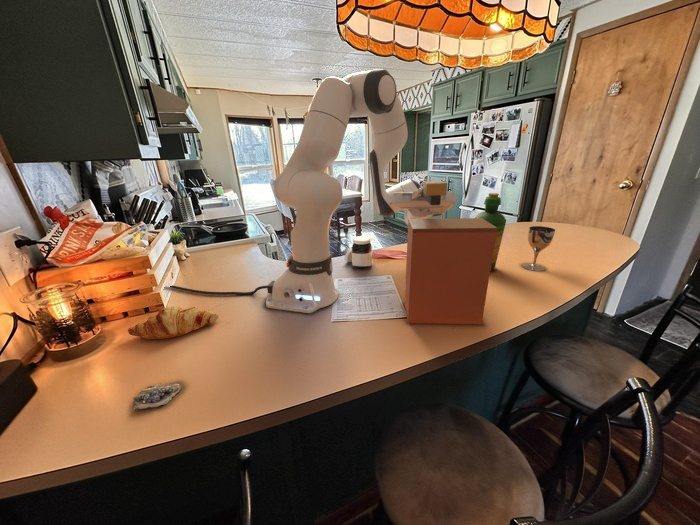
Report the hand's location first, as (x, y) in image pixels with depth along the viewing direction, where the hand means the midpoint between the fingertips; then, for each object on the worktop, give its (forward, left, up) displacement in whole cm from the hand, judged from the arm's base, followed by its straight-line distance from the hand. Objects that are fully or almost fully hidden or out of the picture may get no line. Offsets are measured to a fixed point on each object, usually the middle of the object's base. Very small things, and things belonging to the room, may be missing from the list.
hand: (426, 190), depth 84 cm
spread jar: (-23, +17, -32) cm, 43 cm away
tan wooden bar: (0, -4, -2) cm, 4 cm away
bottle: (+25, +14, -32) cm, 43 cm away
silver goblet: (+44, +15, -32) cm, 57 cm away
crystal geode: (-58, -51, -32) cm, 83 cm away
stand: (+3, -19, -31) cm, 37 cm away
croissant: (-69, -30, -32) cm, 81 cm away
